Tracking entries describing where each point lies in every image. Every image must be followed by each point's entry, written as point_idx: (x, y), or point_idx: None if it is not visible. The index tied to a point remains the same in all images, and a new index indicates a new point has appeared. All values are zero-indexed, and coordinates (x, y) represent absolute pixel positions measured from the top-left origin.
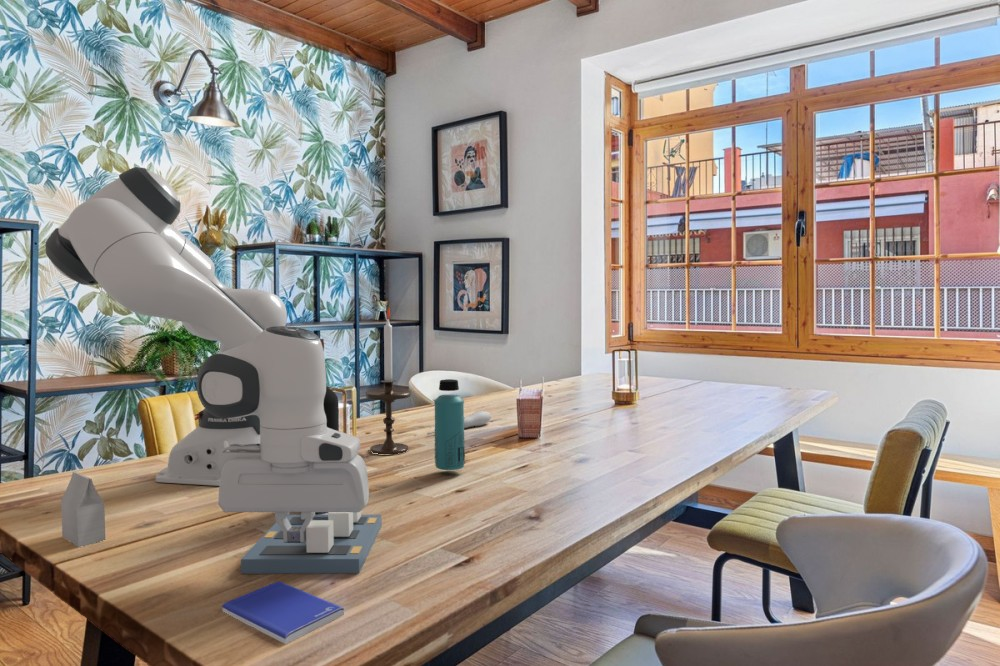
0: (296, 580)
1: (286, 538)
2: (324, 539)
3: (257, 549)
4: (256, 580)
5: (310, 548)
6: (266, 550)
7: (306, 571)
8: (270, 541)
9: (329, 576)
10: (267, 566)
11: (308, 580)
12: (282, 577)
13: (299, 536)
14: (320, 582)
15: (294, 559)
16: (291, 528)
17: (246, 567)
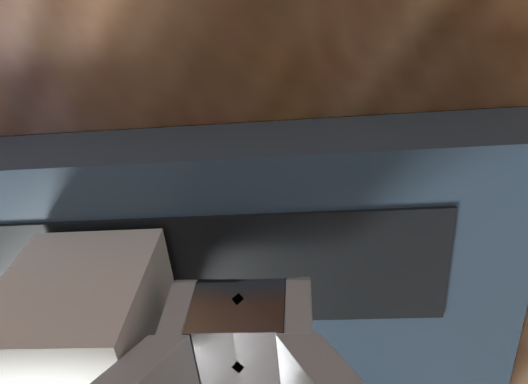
0: (173, 41)
1: (289, 294)
2: (20, 286)
3: (488, 276)
4: (409, 26)
5: (131, 244)
6: (427, 260)
7: (156, 133)
8: (441, 365)
9: (21, 102)
10: (377, 133)
11: (106, 46)
12: (269, 75)
13: (194, 306)
14: (25, 24)
15: (207, 157)
16: (273, 377)
17: (506, 121)
